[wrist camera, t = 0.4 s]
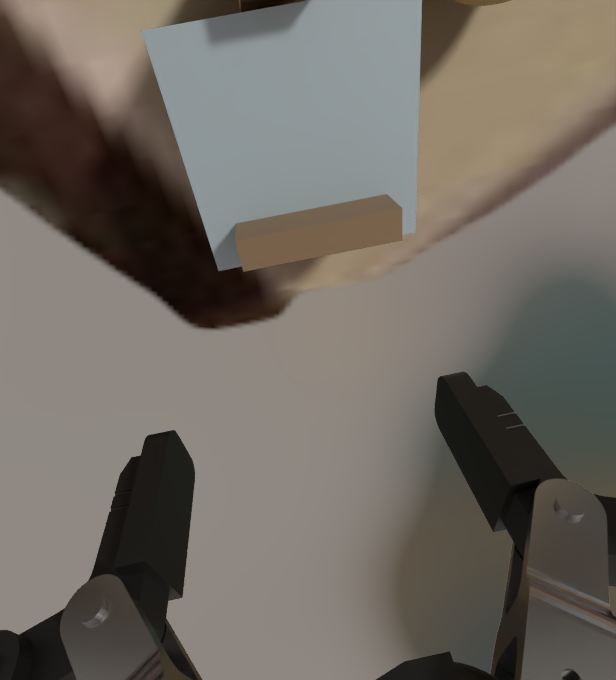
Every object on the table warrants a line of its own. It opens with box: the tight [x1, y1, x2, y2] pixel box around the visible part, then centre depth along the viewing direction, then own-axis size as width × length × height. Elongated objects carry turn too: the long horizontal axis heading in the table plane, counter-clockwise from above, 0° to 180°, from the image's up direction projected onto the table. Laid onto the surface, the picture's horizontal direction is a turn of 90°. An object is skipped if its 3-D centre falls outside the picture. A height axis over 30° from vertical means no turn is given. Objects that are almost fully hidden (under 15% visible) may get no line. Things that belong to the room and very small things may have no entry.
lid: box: [141, 0, 422, 272], centre depth 22 cm, size 13×14×4 cm
